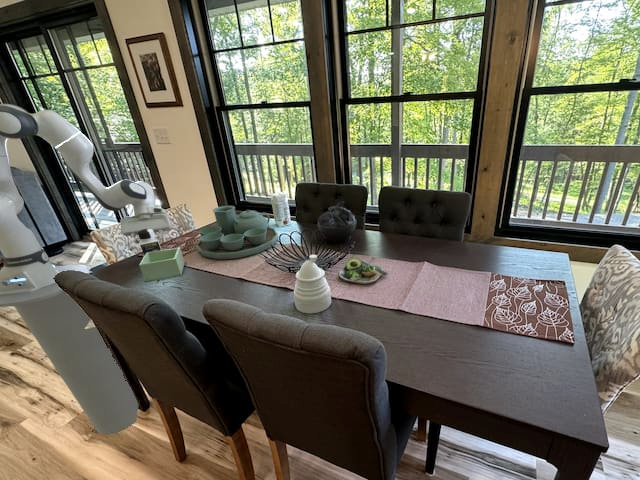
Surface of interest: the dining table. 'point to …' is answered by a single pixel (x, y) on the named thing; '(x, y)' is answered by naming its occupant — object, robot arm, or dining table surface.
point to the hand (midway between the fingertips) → (148, 241)
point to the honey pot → (311, 288)
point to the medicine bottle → (148, 241)
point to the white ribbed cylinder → (280, 209)
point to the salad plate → (361, 272)
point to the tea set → (236, 234)
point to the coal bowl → (337, 223)
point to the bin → (162, 264)
